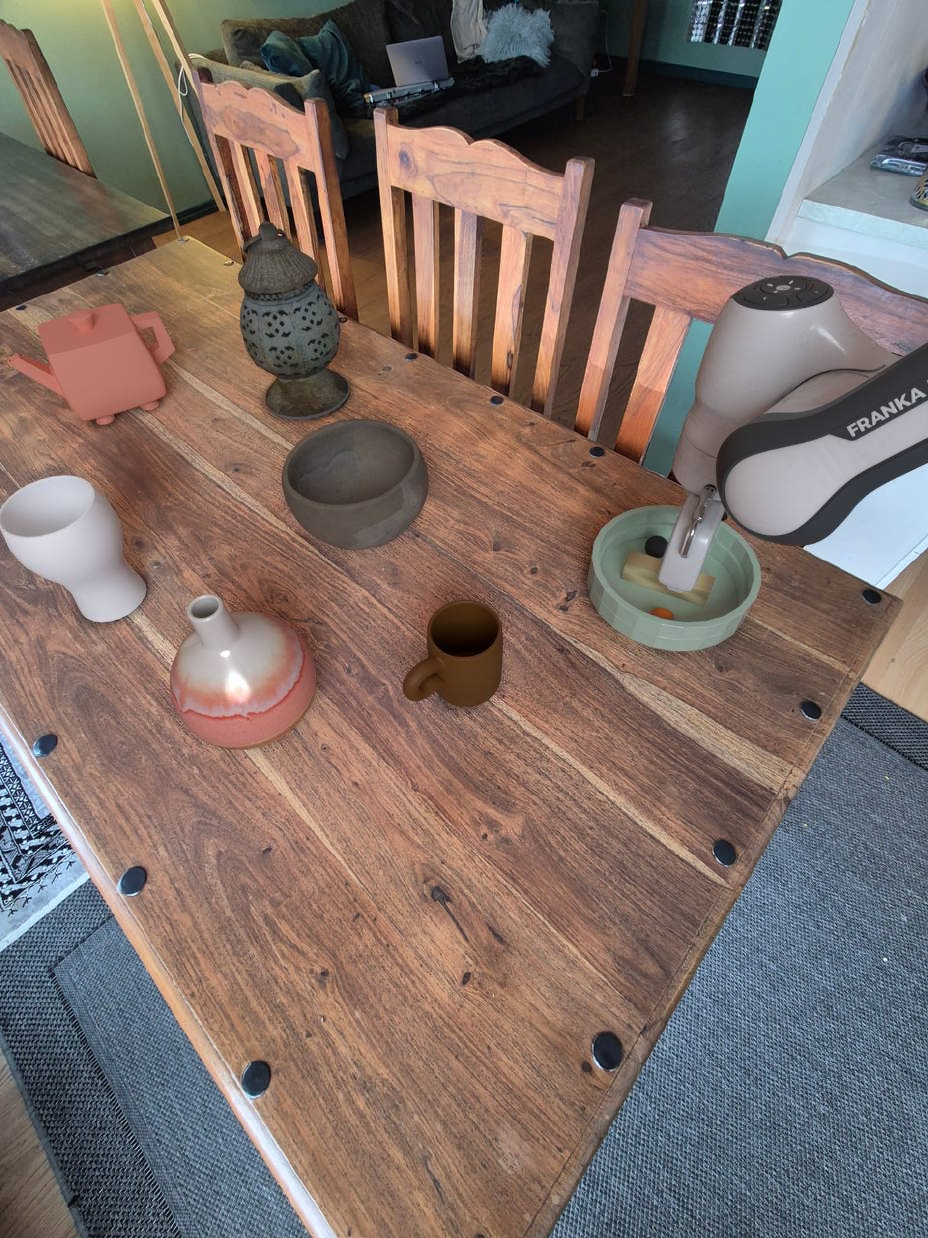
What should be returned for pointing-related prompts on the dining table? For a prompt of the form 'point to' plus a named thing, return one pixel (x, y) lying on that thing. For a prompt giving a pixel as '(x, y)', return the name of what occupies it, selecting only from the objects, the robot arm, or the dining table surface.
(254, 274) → the lantern
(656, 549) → the bead
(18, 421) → the dining table surface
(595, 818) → the dining table surface
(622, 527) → the bowl
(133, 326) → the teapot
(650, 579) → the stick
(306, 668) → the vase
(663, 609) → the bead
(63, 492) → the cup
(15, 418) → the dining table surface
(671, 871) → the dining table surface
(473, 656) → the mug
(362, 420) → the bowl
